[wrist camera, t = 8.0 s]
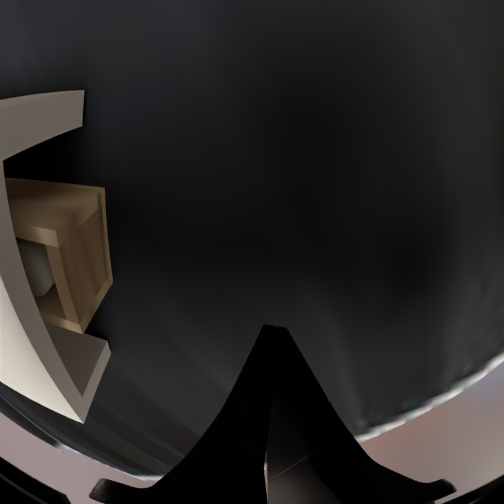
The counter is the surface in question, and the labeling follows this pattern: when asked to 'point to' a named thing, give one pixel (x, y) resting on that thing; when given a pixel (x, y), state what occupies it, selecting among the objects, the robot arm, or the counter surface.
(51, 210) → the brown wooden box
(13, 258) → the shelf
